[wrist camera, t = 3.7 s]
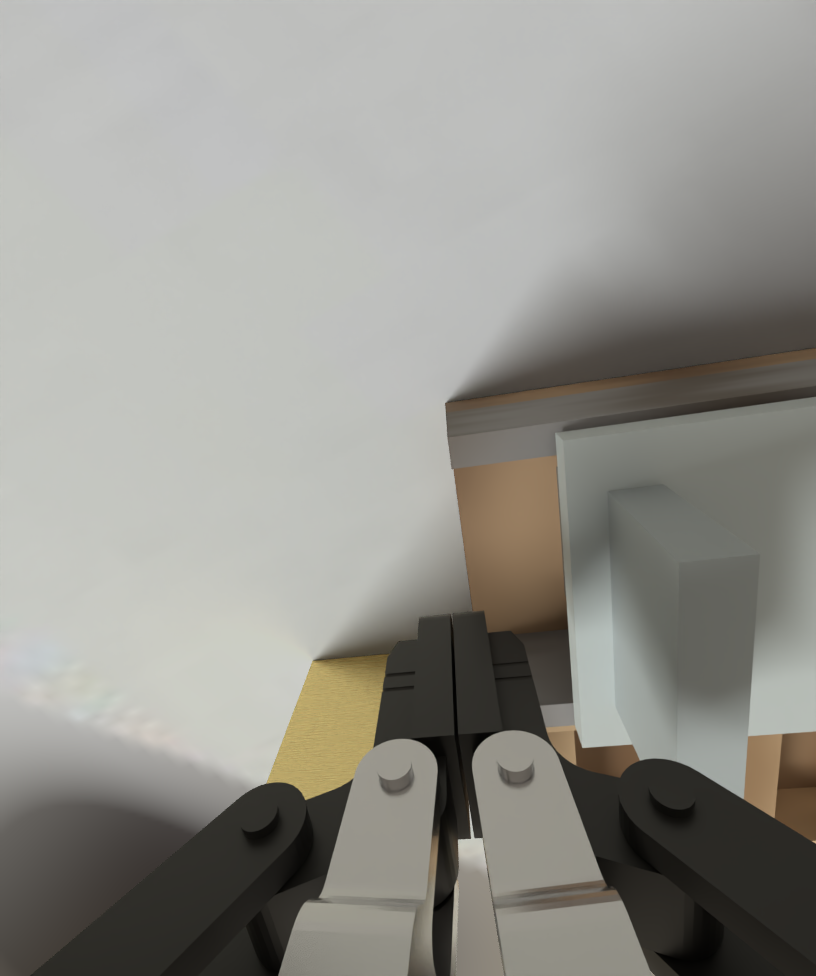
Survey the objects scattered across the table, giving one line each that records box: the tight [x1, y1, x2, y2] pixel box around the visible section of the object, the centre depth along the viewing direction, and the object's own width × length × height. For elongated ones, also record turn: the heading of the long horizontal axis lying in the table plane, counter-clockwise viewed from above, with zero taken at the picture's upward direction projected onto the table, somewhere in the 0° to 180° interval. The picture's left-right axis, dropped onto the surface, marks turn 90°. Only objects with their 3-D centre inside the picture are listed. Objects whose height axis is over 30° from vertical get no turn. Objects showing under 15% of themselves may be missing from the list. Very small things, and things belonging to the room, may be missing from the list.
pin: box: [266, 654, 389, 800], centre depth 17 cm, size 4×4×10 cm
